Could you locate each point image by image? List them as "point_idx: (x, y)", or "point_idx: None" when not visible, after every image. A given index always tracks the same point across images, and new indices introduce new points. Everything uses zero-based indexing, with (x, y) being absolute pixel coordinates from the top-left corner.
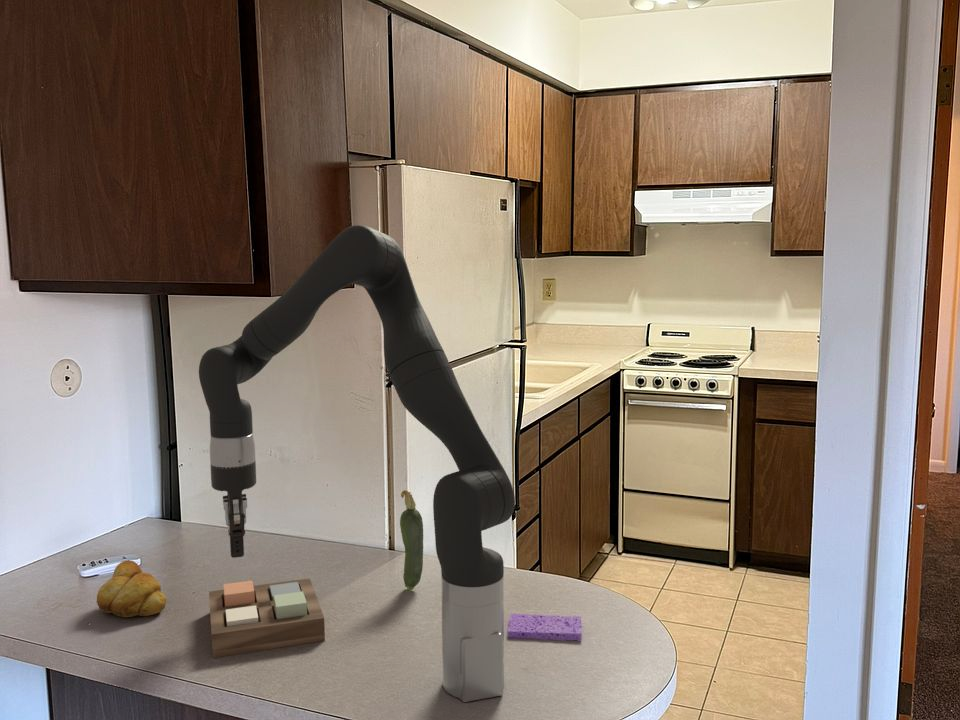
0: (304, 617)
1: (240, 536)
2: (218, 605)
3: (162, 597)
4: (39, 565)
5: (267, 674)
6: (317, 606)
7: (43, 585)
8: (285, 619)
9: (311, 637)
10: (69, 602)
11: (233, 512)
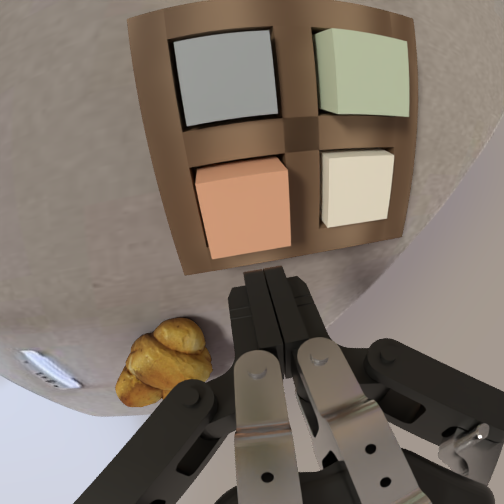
0: None
1: (345, 349)
2: None
3: (184, 335)
4: (71, 405)
5: (448, 137)
6: (353, 8)
7: (110, 404)
8: None
9: None
10: None
11: (453, 469)
